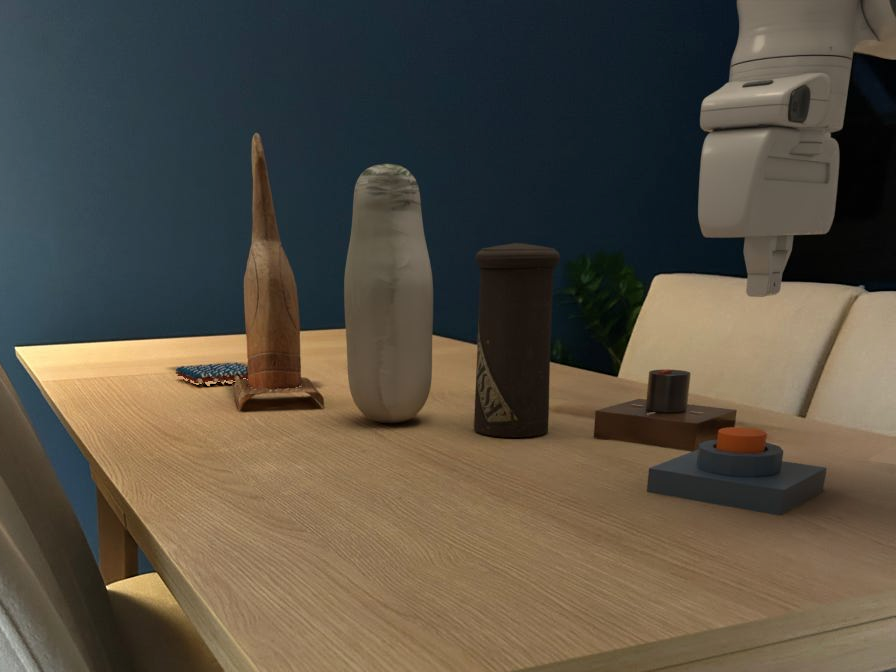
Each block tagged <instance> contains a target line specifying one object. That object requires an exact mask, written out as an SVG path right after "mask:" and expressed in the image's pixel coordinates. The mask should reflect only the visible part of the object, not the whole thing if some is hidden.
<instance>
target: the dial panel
mask: <svg viewBox="0 0 896 672" xmlns="http://www.w3.org/2000/svg"><path fill="white" fill-rule="evenodd" d="M646 400H647V398H646V399H645V398H636V399H633V400H629V401H625V402H622V403H618V404H614V405H611V406H606V407H603V408H599V409H596V410H595V412H594V427H593V438H595V437H596V439H603V440H612V441H619V442H625V443H632V444H639V445H646V446H653V447H659V448H660V447H661V448H668V449H674V450H680V451H689V452H693V451H695V450H698V445H699V444H700V443H703V442H705V441H709V440H717V438H718V431H719V429H722V428H729V427H736V420H737V411H738V410H737V409H733V408H732V409H731V408H723V407H714V406H708V405H707V406H706V405H699V404H689V403H687V410H686V411H684V412H680V413H660V412H653V411H649V410H647V409H646Z"/></svg>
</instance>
